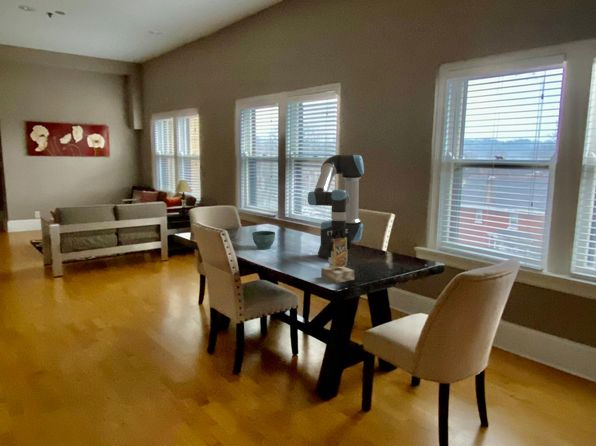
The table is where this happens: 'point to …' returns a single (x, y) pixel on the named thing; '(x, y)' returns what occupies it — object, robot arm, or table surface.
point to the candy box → (339, 252)
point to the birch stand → (337, 274)
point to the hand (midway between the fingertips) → (337, 262)
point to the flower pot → (263, 239)
